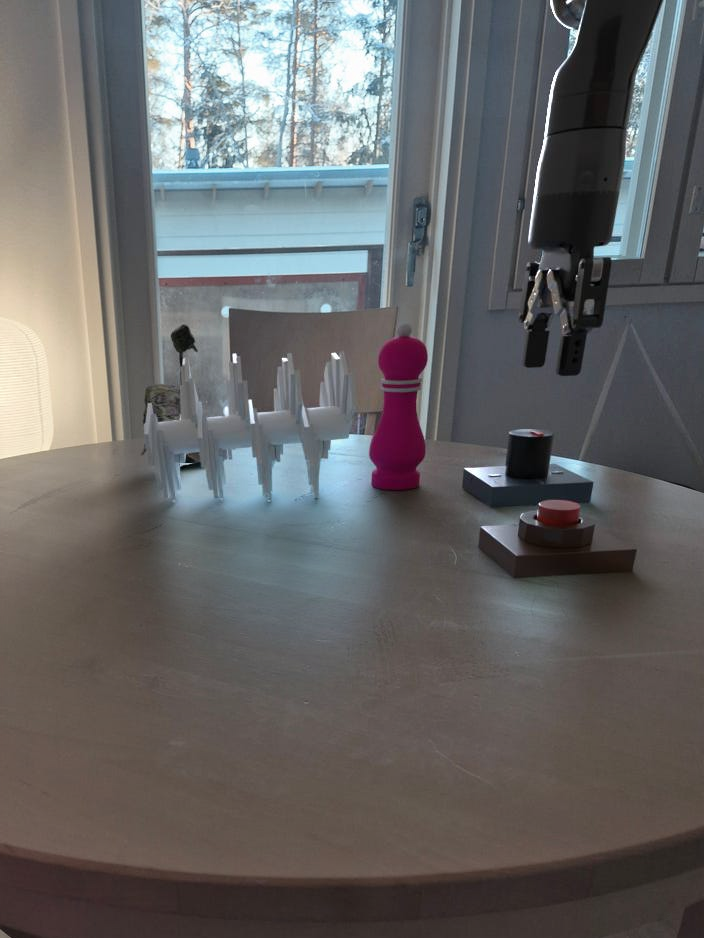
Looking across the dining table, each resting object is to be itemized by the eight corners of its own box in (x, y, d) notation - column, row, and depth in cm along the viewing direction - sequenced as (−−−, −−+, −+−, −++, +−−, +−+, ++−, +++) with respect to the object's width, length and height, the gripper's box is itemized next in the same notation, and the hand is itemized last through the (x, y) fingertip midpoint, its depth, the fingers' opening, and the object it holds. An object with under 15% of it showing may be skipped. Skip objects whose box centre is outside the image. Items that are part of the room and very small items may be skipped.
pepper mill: (357, 486, 99) (363, 324, 90) (386, 475, 104) (394, 320, 95) (404, 494, 94) (416, 324, 86) (433, 482, 99) (446, 320, 90)
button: (566, 516, 71) (569, 498, 71) (584, 527, 68) (588, 508, 67) (529, 518, 71) (532, 500, 70) (546, 529, 68) (549, 511, 67)
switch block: (584, 541, 75) (591, 503, 74) (632, 572, 67) (641, 529, 66) (477, 547, 75) (482, 508, 73) (513, 578, 67) (519, 536, 65)
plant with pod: (143, 461, 119) (132, 326, 110) (214, 457, 119) (208, 322, 110) (140, 472, 111) (128, 328, 103) (216, 468, 112) (209, 325, 103)
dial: (497, 470, 93) (502, 427, 91) (535, 468, 93) (542, 425, 91) (515, 480, 89) (521, 435, 86) (555, 477, 89) (562, 432, 87)
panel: (552, 482, 97) (555, 462, 96) (590, 502, 88) (594, 480, 87) (461, 487, 96) (463, 466, 95) (490, 508, 87) (493, 485, 86)
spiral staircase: (161, 521, 101) (344, 506, 100) (142, 497, 84) (363, 478, 83) (150, 389, 101) (333, 372, 100) (129, 337, 84) (350, 315, 83)
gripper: (656, 180, 64) (619, 377, 71) (581, 198, 77) (555, 363, 84) (570, 183, 64) (541, 380, 71) (509, 200, 77) (489, 365, 84)
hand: (549, 371), depth 78 cm, fingers open, 8 cm apart
